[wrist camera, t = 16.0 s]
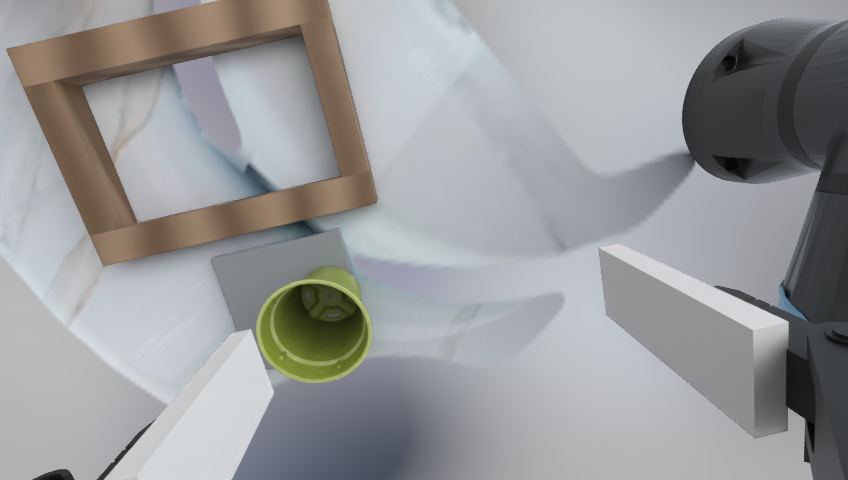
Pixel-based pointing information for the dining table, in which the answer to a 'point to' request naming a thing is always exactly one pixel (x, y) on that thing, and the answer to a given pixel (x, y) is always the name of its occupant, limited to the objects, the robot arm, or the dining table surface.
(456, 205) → the dining table surface
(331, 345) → the plant pot
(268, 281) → the slate coaster
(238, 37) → the open rectangular wooden frame
